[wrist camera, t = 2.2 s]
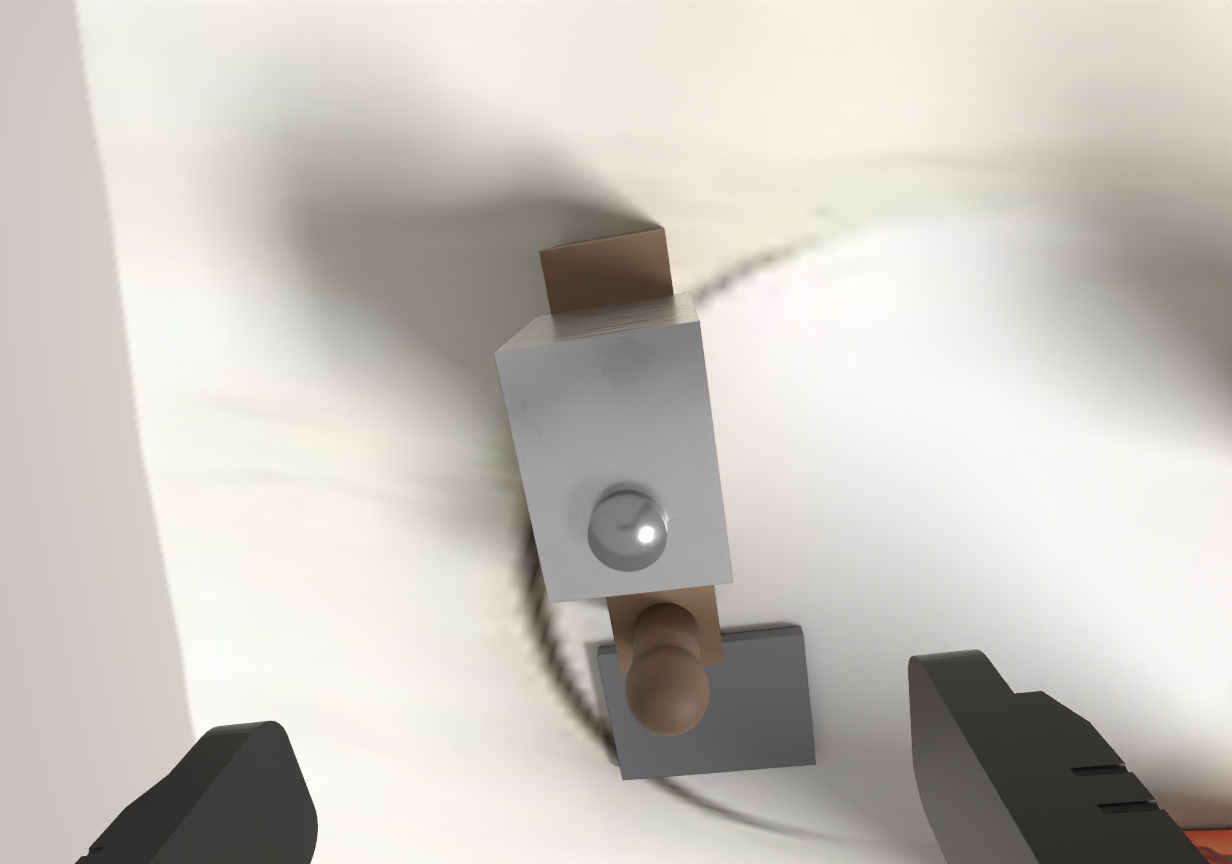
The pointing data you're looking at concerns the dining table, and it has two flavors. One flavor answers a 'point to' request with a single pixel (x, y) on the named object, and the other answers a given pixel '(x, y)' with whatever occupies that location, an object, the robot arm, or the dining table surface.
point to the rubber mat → (725, 712)
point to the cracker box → (1213, 844)
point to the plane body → (661, 620)
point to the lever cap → (617, 448)
